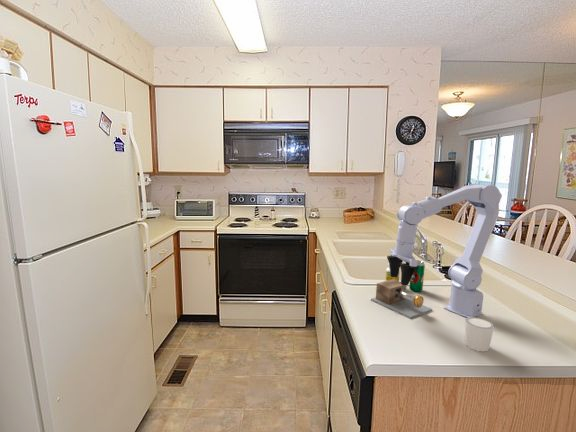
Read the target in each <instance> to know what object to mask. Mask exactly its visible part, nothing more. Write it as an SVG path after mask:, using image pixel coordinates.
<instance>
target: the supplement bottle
mask: <svg viewBox="0 0 576 432" xmlns="http://www.w3.org/2000/svg"><path fill="white" fill-rule="evenodd" d="M400 272H401V270H399V273H398V276H397V277H391V275H390V266H389V262H388V263H387V267H386V269H385V281H388V280H392V279H394V280H397V281H399V282H400Z"/></svg>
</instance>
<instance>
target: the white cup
mask: <svg viewBox="0 0 576 432" xmlns="http://www.w3.org/2000/svg"><path fill="white" fill-rule="evenodd" d="M494 329H495V326H494V324H493V323H492V322H490V321H489V320H487V319H484V318H482V317H481V318H480V317H470V318H467V317H465V336H464V337H465V340H464V341H465V346H466V345H467V346H468V347H467V346H466V347H467V348H469V349H470V348H471V350H473V351H475V350H477V351H476V352H479V351H483V353H484V351H486V352H488V351H489V350H490V349H489V348H490V345H491V341H492V338H493V332H494Z"/></svg>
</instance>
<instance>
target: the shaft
mask: <svg viewBox="0 0 576 432" xmlns="http://www.w3.org/2000/svg"><path fill="white" fill-rule="evenodd" d="M395 296H398V297H400V298H402V299H405V300H407V301H410V302H412V303H414V306H416V307H418V308H420V307H421V306H422V305H424V301H425V300H424V296H422V295H416V296H415V295H414V294H411V293H407V291H406V292H403V291H401V290H398V289H396V290H395Z"/></svg>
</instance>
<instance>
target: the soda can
mask: <svg viewBox="0 0 576 432" xmlns="http://www.w3.org/2000/svg"><path fill="white" fill-rule="evenodd" d="M416 260H417V266H418V270H417V271H416V272H415V273H414V274H413V276H412V278H411V280H410V282H409V284H408V286H409V290H410V291H412V292H415V293H421V292H422V291H423V289H424V279H425V278H424V277H425V267H426V264H425V261H423V260H419V259H416Z"/></svg>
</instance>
